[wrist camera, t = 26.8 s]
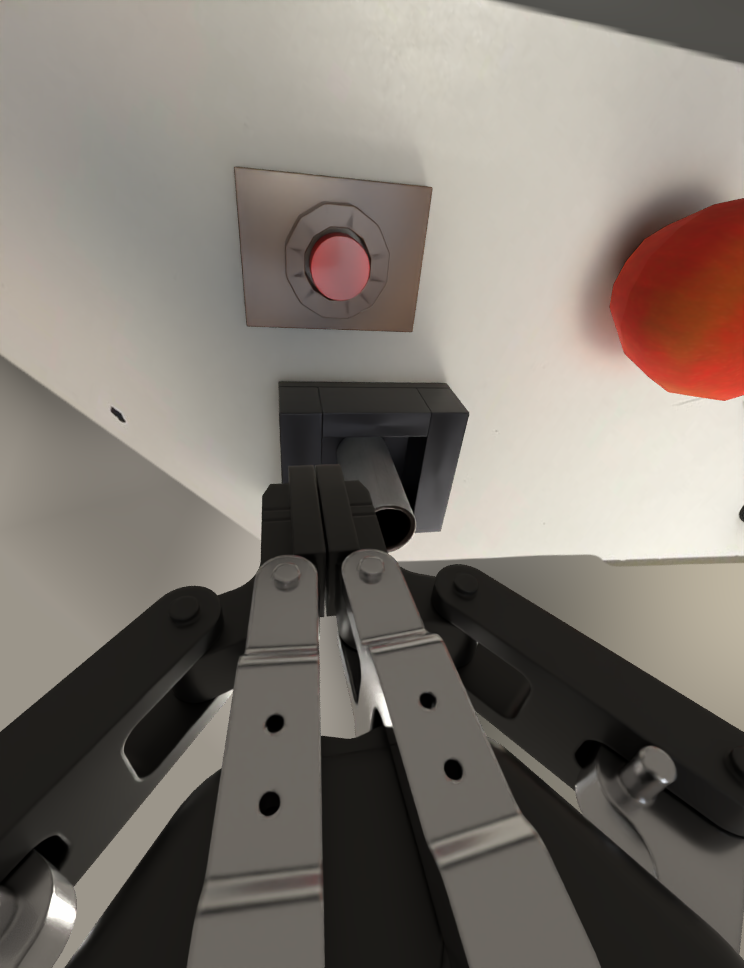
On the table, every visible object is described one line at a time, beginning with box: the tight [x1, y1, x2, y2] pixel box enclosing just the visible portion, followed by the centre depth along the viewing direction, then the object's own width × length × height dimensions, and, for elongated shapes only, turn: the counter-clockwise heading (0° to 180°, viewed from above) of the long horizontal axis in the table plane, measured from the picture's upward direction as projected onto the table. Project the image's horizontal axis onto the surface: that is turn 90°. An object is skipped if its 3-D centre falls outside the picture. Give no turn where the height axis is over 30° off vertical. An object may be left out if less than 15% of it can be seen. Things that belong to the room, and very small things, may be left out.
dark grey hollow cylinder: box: [337, 437, 416, 552], centre depth 34 cm, size 4×4×10 cm
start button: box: [309, 232, 370, 301], centre depth 27 cm, size 4×4×2 cm
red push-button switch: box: [234, 167, 432, 332], centre depth 28 cm, size 12×9×3 cm
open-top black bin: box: [279, 382, 469, 533], centre depth 37 cm, size 14×12×6 cm
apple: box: [610, 198, 744, 401], centre depth 29 cm, size 12×12×14 cm
